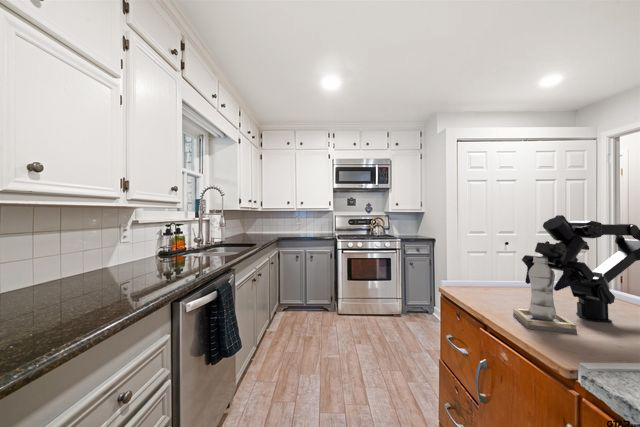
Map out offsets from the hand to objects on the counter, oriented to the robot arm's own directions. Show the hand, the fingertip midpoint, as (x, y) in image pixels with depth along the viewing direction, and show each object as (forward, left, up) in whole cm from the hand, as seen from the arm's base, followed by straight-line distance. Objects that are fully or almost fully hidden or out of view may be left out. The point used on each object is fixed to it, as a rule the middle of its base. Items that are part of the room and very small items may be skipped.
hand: (540, 286), depth 86 cm
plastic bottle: (0, 0, -11) cm, 11 cm away
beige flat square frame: (0, 0, -12) cm, 12 cm away
